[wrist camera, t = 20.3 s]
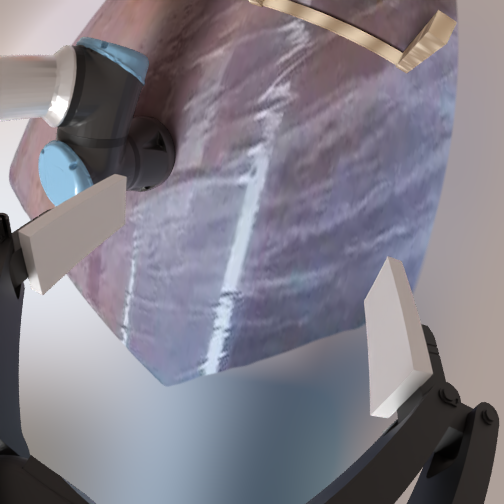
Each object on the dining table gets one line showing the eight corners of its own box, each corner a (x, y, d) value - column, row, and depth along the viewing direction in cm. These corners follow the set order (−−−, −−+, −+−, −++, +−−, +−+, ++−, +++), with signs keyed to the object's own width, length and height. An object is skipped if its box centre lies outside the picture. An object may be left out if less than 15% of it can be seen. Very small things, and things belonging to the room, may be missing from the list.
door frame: (251, 3, 39) (190, -49, 20) (259, -10, 37) (202, -67, 18) (406, 73, 37) (446, 43, 18) (413, 59, 35) (456, 22, 17)
